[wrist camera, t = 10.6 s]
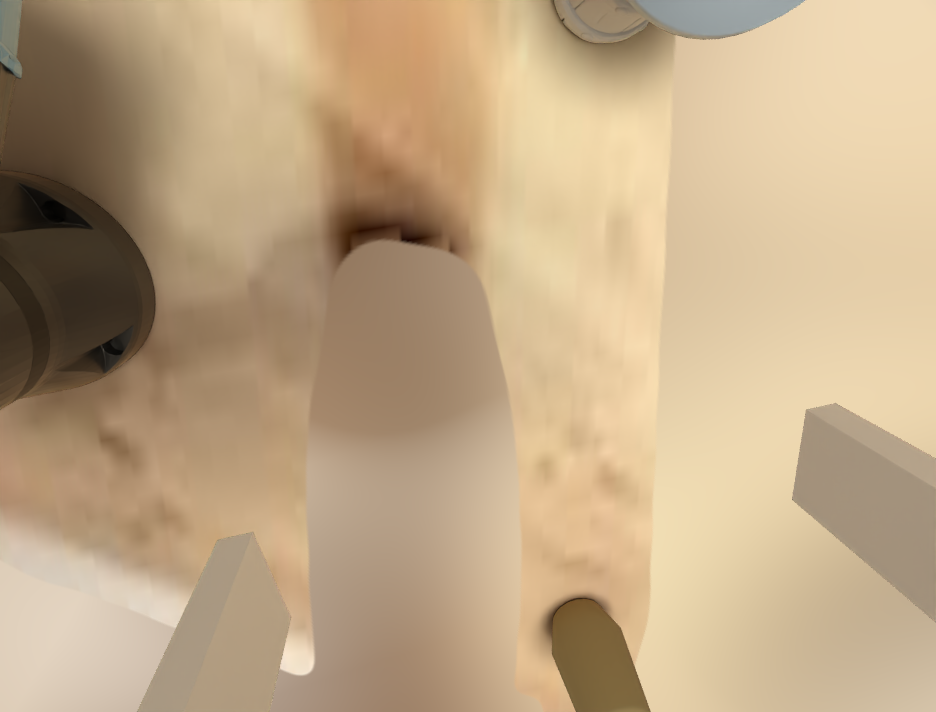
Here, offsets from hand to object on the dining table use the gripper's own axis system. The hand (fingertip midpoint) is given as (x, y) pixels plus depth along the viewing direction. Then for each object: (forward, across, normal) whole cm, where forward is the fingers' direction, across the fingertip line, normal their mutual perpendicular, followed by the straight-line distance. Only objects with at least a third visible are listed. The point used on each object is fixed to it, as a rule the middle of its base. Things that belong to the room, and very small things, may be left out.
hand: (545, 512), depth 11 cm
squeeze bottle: (+28, +8, -43) cm, 52 cm away
